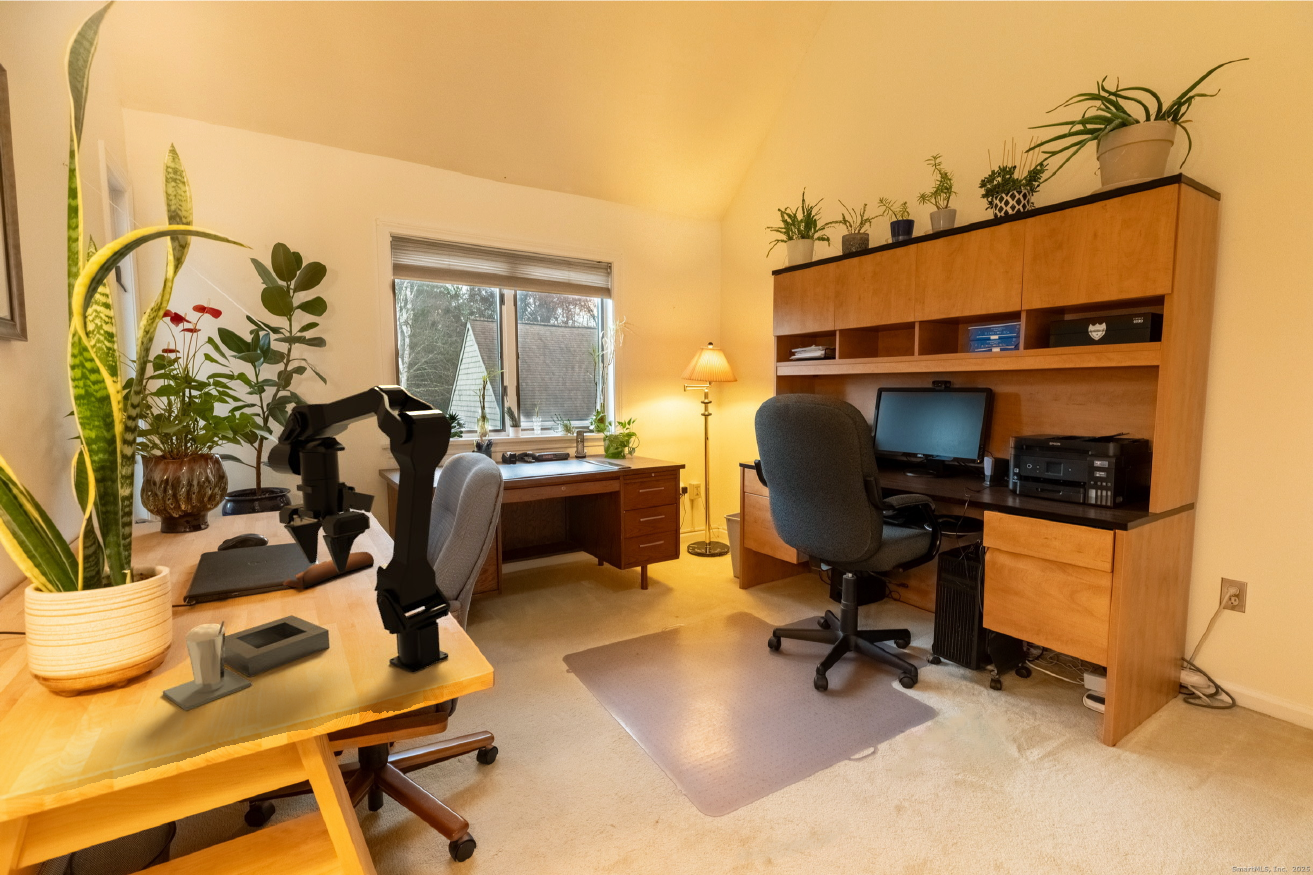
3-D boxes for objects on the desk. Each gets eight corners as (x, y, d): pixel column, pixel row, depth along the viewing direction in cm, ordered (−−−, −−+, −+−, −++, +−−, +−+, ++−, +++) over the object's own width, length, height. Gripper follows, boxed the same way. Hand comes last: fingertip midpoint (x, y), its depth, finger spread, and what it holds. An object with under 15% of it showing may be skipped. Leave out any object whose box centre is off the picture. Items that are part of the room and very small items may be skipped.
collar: (329, 647, 101) (328, 629, 101) (249, 677, 91) (247, 658, 91) (293, 631, 108) (291, 615, 108) (214, 657, 98) (213, 639, 98)
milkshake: (215, 697, 85) (209, 627, 84) (181, 694, 86) (175, 625, 85) (242, 681, 89) (236, 614, 88) (210, 678, 90) (204, 613, 89)
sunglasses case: (349, 561, 149) (358, 539, 147) (368, 578, 147) (377, 556, 145) (278, 584, 133) (287, 560, 131) (298, 604, 131) (307, 580, 129)
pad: (251, 685, 89) (251, 682, 89) (185, 710, 82) (185, 707, 82) (227, 671, 93) (226, 668, 93) (163, 694, 87) (162, 690, 87)
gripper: (396, 475, 105) (401, 563, 107) (337, 467, 116) (342, 548, 117) (332, 485, 96) (338, 581, 98) (274, 475, 106) (281, 563, 108)
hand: (326, 567), depth 105 cm, fingers open, 9 cm apart
